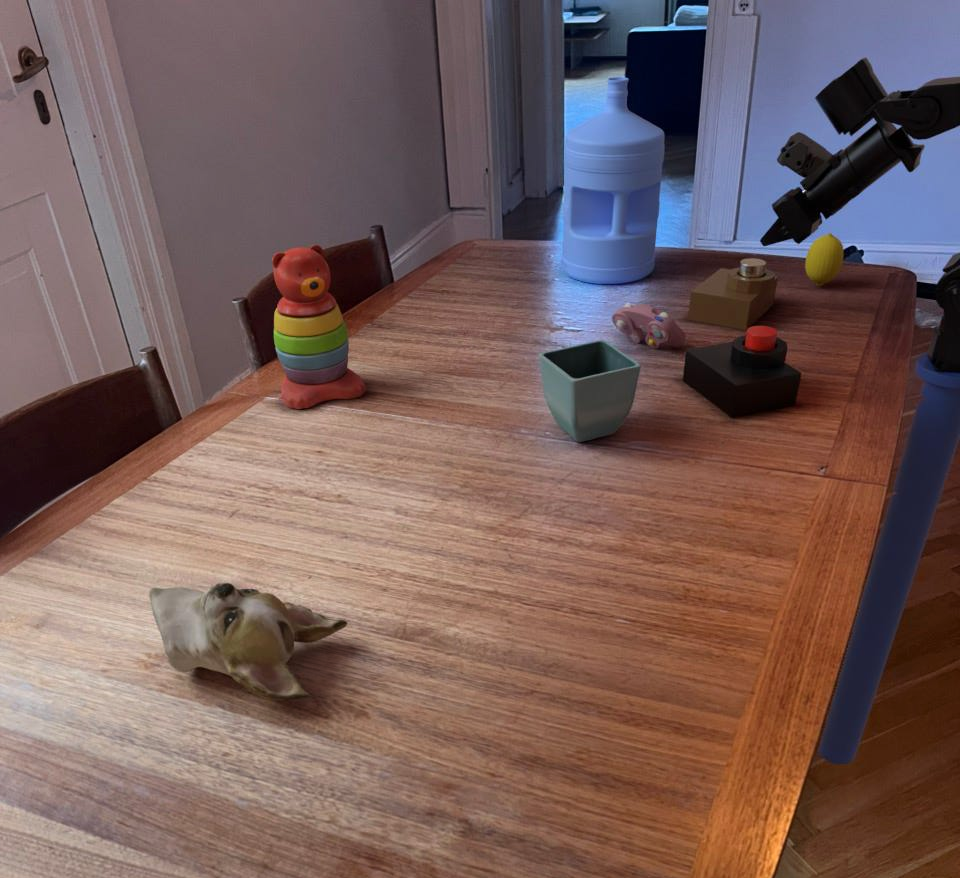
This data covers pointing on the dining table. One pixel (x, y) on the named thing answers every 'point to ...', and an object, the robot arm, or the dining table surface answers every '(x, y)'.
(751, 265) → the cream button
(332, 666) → the dining table surface
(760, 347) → the red button
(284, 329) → the stacking bear
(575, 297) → the dining table surface
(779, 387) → the near box
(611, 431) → the flower pot
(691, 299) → the far box
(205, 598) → the ceramic sculpture
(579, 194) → the water jug
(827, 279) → the lemon
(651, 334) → the video game controller
